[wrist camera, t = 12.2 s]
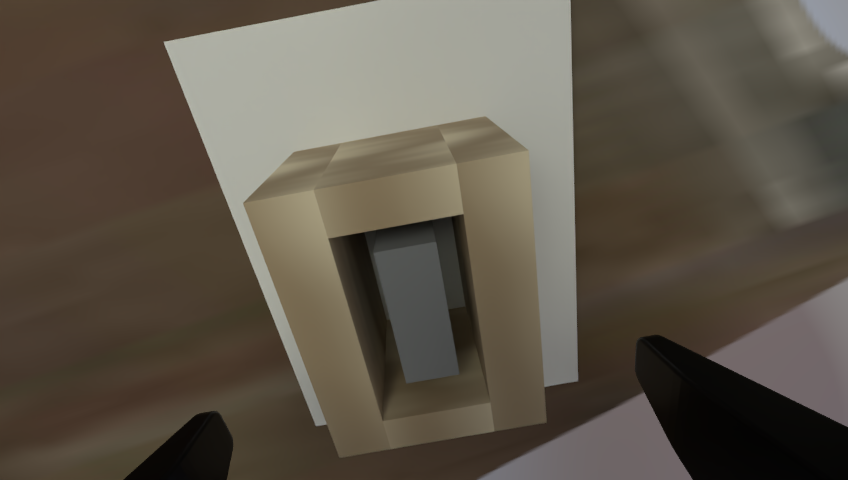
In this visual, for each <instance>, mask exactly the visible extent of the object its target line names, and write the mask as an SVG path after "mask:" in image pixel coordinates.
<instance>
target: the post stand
mask: <svg viewBox="0 0 848 480" xmlns="http://www.w3.org/2000/svg"><path fill="white" fill-rule="evenodd" d="M164 44H165V47H166V49H167V52H168V54H169V57H170V59H171V62H172V64H173V67H174V69H175V72H176V74H177V77H178V79H179V82H180V85H181V87H182V90H183V92H184V95H185V97H186V100H187V102H188V105H189V107H190V110H191V112H192V115H193V117H194V120H195V122H196V125H197V127H198V130H199V132H200V135H201V137H202V140H203V143H204V145H205V148H206V150H207V153H208V155H209V158H210V160H211V163H212V165H213V168H214V170H215V173H216V175H217V178H218V180H219V183H220V185H221V188H222V190H223V193H224V195H225V198H226V201H227V203H228V206H229V208H230V211H231V213H232V216H233V218H234V221H235V223H236V226H237V228H238V231H239V233H240V236H241V238H242V241H243V243H244V246H245V248H246V251H247V253H248V256H249V258H250V261H251V264H252V266H253V269H254V271H255V274H256V276H257V279H258V281H259V284H260V286H261V289H262V291H263V294H264V296H265V299H266V301H267V304H268V306H269V309H270V311H271V314H272V316H273V319H274V322H275V324H276V327H277V329H278V332H279V334H280V337H281V339H282V342H283V344H284V347H285V349H286V352H287V354H288V357H289V359H290V362H291V364H292V367H293V369H294V372H295V374H296V377H297V380H298V382H299V385H300V387H301V390H302V392H303V395H304V397H305V400H306V402H307V405H308V407H309V410H310V412H311V415H312V417H313V420H314V422H315V425H316V426H320V425H326V424H327V423H326V421H325V418H324V415H323V413H322V410H321V408H320V405H319V402H318V400H317V397H316V394H315V392H314V389H313V386H312V384H311V381H310V379H309V376H308V373H307V371H306V368H305V365H304V363H303V360H302V357H301V355H300V352H299V350H298V347H297V344H296V342H295V339H294V336H293V334H292V331H291V329H290V326H289V323H288V321H287V318H286V315H285V313H284V310H283V307H282V305H281V302H280V300H279V297H278V294H277V292H276V289H275V286H274V284H273V281H272V279H271V276H270V273H269V271H268V268H267V265H266V263H265V260H264V257H263V255H262V252H261V250H260V247H259V244H258V242H257V239H256V236H255V234H254V231H253V229H252V226H251V223H250V221H249V218H248V215H247V213H246V210H245V207H244V205H243V202H244V201H245V200H246V199H247V198H248V197H249V196H250V195H251V194H252V193H253V192H254V191H255V190H256V189H257V188H258V187H259V186H260V185H261V184H262V183H263V182H264V181H265V180H266V179H267V178H268V177H269V176H270V175H271V174H272V173H273V172H274V171H275V170H276V169H277V168H278V167H279V166H280V165H281V164H282V163H283V162H284V161H285V160H286V159H287V158H288V157H289V156H290V155H291V154H292V153H293V152H296V151H301V150H306V149H312V148H317V147H322V146H328V145H333V144H339V143H344V142H349V141H355V140H360V139H365V138H371V137H376V136H381V135H387V134H392V133H397V132H403V131H408V130H414V129H419V128H424V127H430V126H435V125H440V124H446V123H451V122H456V121H462V120H467V119H473V118H478V117H483V116H486V117H487V118H488V119H490V120H491V121H492V122H494V123H495V124H496V125H497V126H499V127H500V128H501V129H502V130H504V131H505V132H506V133H507V134H509V135H510V136H511V137H512V138H514V139H515V140H516V141H518V142H519V143H520V144H521V145H523V146H524V147H525V148H526V149H528V150H529V161H530V176H531V192H532V207H533V222H534V237H535V252H536V268H537V283H538V298H539V313H540V328H541V343H542V359H543V374H544V387H546V386H552V385H558V384H564V383H570V382H575V381H578V352H577V302H576V253H575V203H574V153H573V103H572V53H571V3H570V0H378V1H373V2H368V3H363V4H358V5H353V6H347V7H342V8H337V9H332V10H327V11H322V12H316V13H311V14H306V15H301V16H296V17H291V18H285V19H280V20H275V21H270V22H265V23H260V24H254V25H249V26H244V27H239V28H234V29H229V30H223V31H218V32H213V33H208V34H203V35H198V36H192V37H187V38H182V39H177V40H172V41H167V42H164ZM364 233H365V237H366V241H367V245H368V249H369V253H370V257H371V260H372V264H373V268H374V272H375V276H376V280H377V284H378V288H379V292H380V296H381V299H382V303H383V307H384V311H385V315H386V319H387V320H390V321H391V325H392V329H393V333H394V337H395V341H396V345H397V348H398V352H399V356H400V360H401V364H402V368H403V372H404V376H405V380H406V384H407V383H413V382H419V381H424V380H430V379H436V378H442V377H447V376H453V375H459V374H460V373H459V368H458V362H457V356H456V351H455V345H454V339H453V334H452V328H451V322H450V317H449V311H448V309H453V308H459V307H465V300H464V294H463V288H462V281H461V275H460V268H459V262H458V256H457V249H456V243H455V236H454V230H453V223H452V217H451V216H450V217H444V218H439V219H433V220H428V221H422V222H417V223H411V224H406V225H400V226H395V227H389V228H384V229H378V230H373V231H367V232H364Z"/></svg>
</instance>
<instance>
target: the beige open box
mask: <svg viewBox="0 0 848 480" xmlns="http://www.w3.org/2000/svg"><path fill="white" fill-rule="evenodd" d="M243 205H244V207H245V210H246V213H247V215H248V218H249V221H250V223H251V226H252V229H253V231H254V234H255V236H256V239H257V242H258V244H259V247H260V250H261V252H262V255H263V257H264V260H265V263H266V265H267V268H268V271H269V273H270V276H271V279H272V281H273V284H274V286H275V289H276V292H277V294H278V297H279V300H280V302H281V305H282V307H283V310H284V313H285V315H286V318H287V321H288V323H289V326H290V329H291V331H292V334H293V336H294V339H295V342H296V344H297V347H298V350H299V352H300V355H301V357H302V360H303V363H304V365H305V368H306V371H307V373H308V376H309V379H310V381H311V384H312V386H313V389H314V392H315V394H316V397H317V400H318V402H319V405H320V408H321V410H322V413H323V415H324V418H325V421H326V423H327V426H328V429H329V431H330V434H331V436H332V439H333V442H334V444H335V447H336V450H337V452H338V455H339V458H342V457H348V456H354V455H359V454H365V453H371V452H377V451H383V450H389V449H395V448H400V447H406V446H412V445H418V444H424V443H430V442H436V441H442V440H447V439H453V438H459V437H465V436H471V435H477V434H483V433H488V432H494V431H500V430H506V429H512V428H518V427H524V426H530V425H535V424H541V423H547V419H546V404H545V389H544V374H543V359H542V343H541V328H540V313H539V298H538V283H537V268H536V252H535V237H534V222H533V207H532V192H531V176H530V161H529V150H528V149H526V148H525V147H524V146H523V145H521V144H520V143H519V142H518V141H516V140H515V139H514V138H512V137H511V136H510V135H509V134H507V133H506V132H505V131H504V130H502V129H501V128H500V127H499V126H497V125H496V124H495V123H494V122H492V121H491V120H490V119H488V118H487V117H486V116H483V117H478V118H473V119H467V120H462V121H456V122H451V123H446V124H440V125H435V126H430V127H424V128H419V129H414V130H408V131H403V132H397V133H392V134H387V135H381V136H376V137H371V138H365V139H360V140H355V141H349V142H344V143H339V144H333V145H328V146H322V147H317V148H312V149H306V150H301V151H296V152H293V153H292V154H291V155H290V156H289V157H288V158H287V159H286V160H285V161H284V162H283V163H282V164H281V165H280V166H279V167H278V168H277V169H276V170H275V171H274V172H273V173H272V174H271V175H270V176H269V177H268V178H267V179H266V180H265V181H264V182H263V183H262V184H261V185H260V186H259V187H258V188H257V189H256V190H255V191H254V192H253V193H252V194H251V195H250V196H249V197H248V198H247V199H246V200H245V201H244V202H243ZM450 216H451V217H452V223H453V230H454V236H455V243H456V249H457V256H458V262H459V268H460V275H461V281H462V288H463V294H464V300H465V307H459V308H453V309H448V311H449V317H450V322H451V328H452V334H453V339H454V345H455V351H456V356H457V362H458V368H459V373H460V374H459V375H453V376H447V377H442V378H436V379H430V380H424V381H419V382H413V383H407V384H406V380H405V376H404V372H403V368H402V364H401V360H400V356H399V352H398V348H397V345H396V341H395V337H394V333H393V329H392V325H391V321H390V320H387V319H386V315H385V311H384V307H383V303H382V299H381V296H380V292H379V288H378V284H377V280H376V276H375V272H374V268H373V264H372V260H371V257H370V253H369V249H368V245H367V241H366V237H365V233H364V232H367V231H373V230H378V229H384V228H389V227H395V226H400V225H406V224H411V223H417V222H422V221H428V220H433V219H439V218H444V217H450Z"/></svg>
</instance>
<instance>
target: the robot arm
mask: <svg viewBox="0 0 848 480" xmlns="http://www.w3.org/2000/svg"><path fill="white" fill-rule="evenodd" d="M635 372H636V376H637V378H638V380H639V382H640V384H641V386H642V388H643V390H644V392H645V394H646V396H647V398H648V400H649V402H650V404H651V406H652V408H653V410H654V412H655V414H656V416H657V418H658V420H659V422H660V424H661V426H662V428H663V430H664V432H665V434H666V436H667V438H668V440H669V441H670V443H671V445H672V447H673V449H674V450H675V452H676V454H677V455H678V457H679V459H680V460H681V462H682V463H683V465H684V467H685V468H686V470H687V471H688V472H689V474H690V476H691V477H692V479H693V480H848V427H846V426H844V425H842V424H840V423H838V422H836V421H834V420H832V419H830V418H828V417H826V416H824V415H822V414H820V413H818V412H816V411H814V410H812V409H809V408H808V407H805V406H803V405H801V404H799V403H797V402H795V401H793V400H791V399H789V398H787V397H785V396H783V395H781V394H779V393H777V392H775V391H773V390H771V389H769V388H767V387H765V386H763V385H761V384H758V383H756V382H754V381H752V380H750V379H748V378H746V377H744V376H742V375H740V374H738V373H736V372H734V371H732V370H730V369H728V368H726V367H724V366H722V365H720V364H718V363H716V362H714V361H711V360H709V359H707V358H705V357H703V356H701V355H699V354H697V353H695V352H693V351H691V350H689V349H687V348H685V347H683V346H681V345H679V344H677V343H675V342H673V341H671V340H669V339H667V338H665V337H662V336H660V335H651V336H645V337H640V338H639V339H638V340H637V343H636V356H635ZM232 451H233V438H232V435H231V433H230V431H229V430H228V428H227V426H226V424H225V422H224V420H223V418H222V416H221V415H220V413H218V412H217V411H211V412H205V413H200V414H197V415H195V416H194V417H193V418H192V419H191V420H190V421H188V422H187V423H186V424H185V425H184V426H183V427H182V428H181V429H179V430H178V431H177V432H176V433H175V434H174V435H173V436H172V437H171V438H169V439H168V440H167V441H166V442H165V443H164V444H163V445H162V446H160V447H159V448H158V449H157V450H156V451H155V452H154V453H153V454H152V455H150V456H149V457H148V458H147V459H146V460H145V461H144V462H143V463H141V464H140V465H139V466H138V467H137V468H136V469H135V470H134V471H133V472H131V473H130V474H129V475H128V476H127V477H126V478H125V479H124V480H227V475H228V470H229V466H230V461H231V456H232Z"/></svg>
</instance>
